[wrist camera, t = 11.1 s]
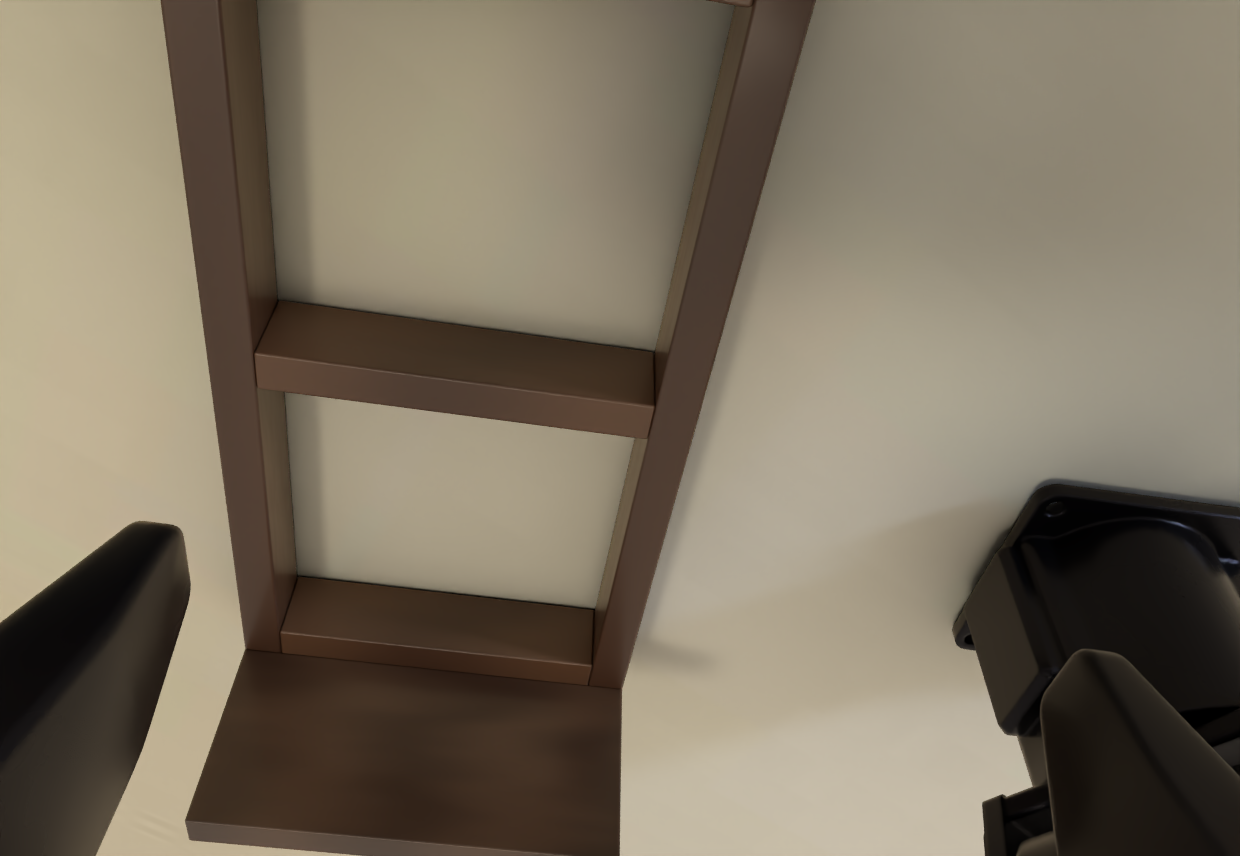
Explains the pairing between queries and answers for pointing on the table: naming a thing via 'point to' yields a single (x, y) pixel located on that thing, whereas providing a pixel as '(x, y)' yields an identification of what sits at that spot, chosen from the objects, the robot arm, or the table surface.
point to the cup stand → (423, 620)
